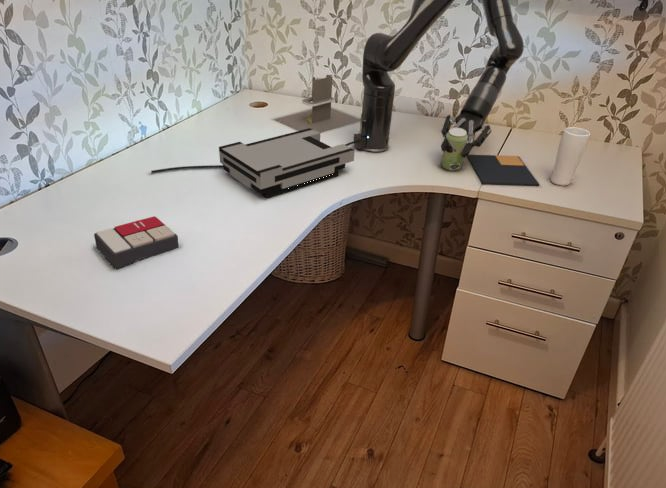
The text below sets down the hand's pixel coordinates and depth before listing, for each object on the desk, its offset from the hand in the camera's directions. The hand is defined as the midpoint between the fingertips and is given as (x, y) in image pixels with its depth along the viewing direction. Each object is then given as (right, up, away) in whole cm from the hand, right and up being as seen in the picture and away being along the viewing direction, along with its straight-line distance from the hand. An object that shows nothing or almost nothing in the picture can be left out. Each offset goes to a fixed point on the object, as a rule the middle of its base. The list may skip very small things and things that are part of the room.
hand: (452, 153), depth 153 cm
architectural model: (-38, +21, +36) cm, 57 cm away
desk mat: (+16, -4, +4) cm, 17 cm away
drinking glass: (+30, -9, -1) cm, 32 cm away
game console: (-48, -6, -1) cm, 48 cm away
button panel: (-81, -30, -34) cm, 93 cm away
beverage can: (+1, -4, +5) cm, 6 cm away
